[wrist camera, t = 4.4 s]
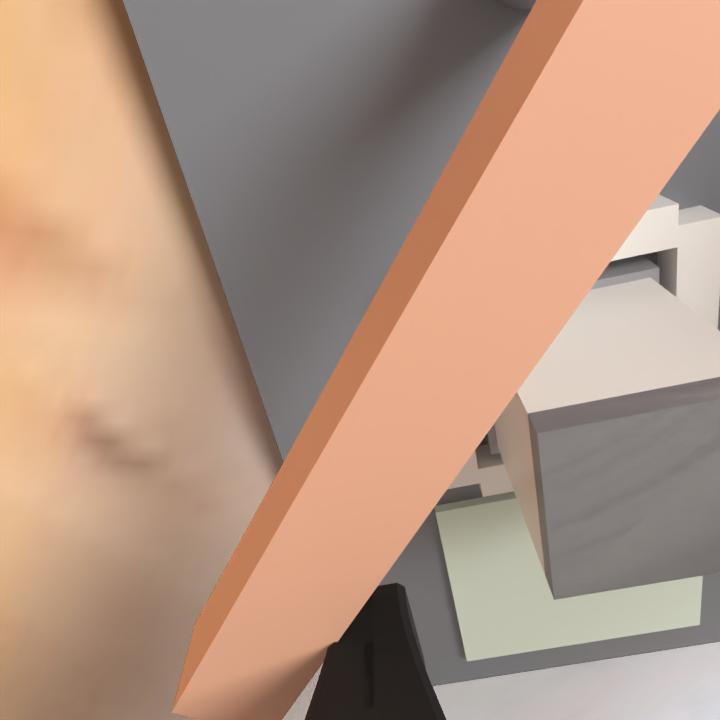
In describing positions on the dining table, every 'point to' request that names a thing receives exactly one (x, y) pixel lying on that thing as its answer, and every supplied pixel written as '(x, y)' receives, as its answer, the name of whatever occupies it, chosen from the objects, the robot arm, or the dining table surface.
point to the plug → (620, 440)
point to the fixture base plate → (373, 260)
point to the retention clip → (457, 327)
